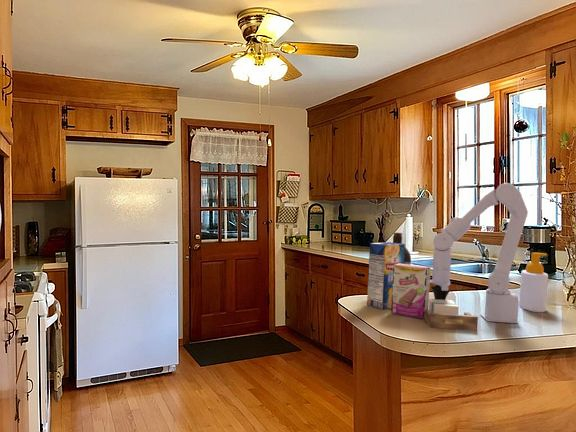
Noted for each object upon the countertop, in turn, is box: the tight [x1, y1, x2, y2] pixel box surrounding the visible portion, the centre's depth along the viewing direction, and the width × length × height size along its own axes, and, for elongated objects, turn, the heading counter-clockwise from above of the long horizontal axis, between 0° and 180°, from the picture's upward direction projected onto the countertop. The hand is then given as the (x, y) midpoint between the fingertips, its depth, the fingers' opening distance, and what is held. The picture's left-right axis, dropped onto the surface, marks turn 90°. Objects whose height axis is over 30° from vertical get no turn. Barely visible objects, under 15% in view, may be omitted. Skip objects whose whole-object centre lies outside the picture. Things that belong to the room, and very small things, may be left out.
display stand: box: [424, 309, 479, 332], centre depth 145 cm, size 14×10×4 cm
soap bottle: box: [518, 252, 549, 313], centre depth 172 cm, size 13×8×20 cm, turn 168°
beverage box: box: [366, 241, 406, 310], centre depth 168 cm, size 7×11×22 cm, turn 130°
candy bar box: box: [390, 263, 432, 320], centre depth 155 cm, size 11×5×16 cm, turn 59°
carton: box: [428, 298, 459, 315], centre depth 156 cm, size 8×9×4 cm
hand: (439, 307), depth 162 cm, fingers closed
